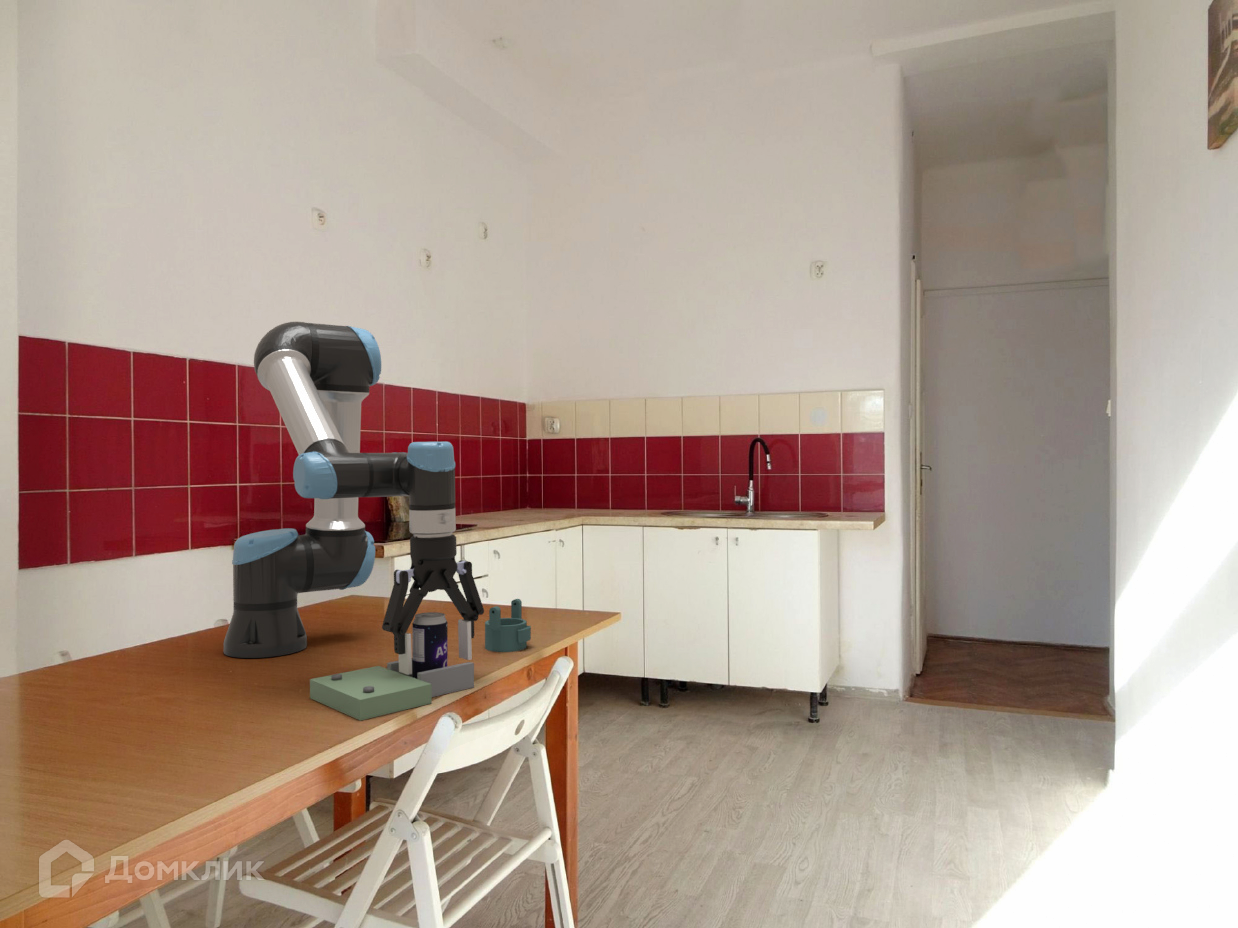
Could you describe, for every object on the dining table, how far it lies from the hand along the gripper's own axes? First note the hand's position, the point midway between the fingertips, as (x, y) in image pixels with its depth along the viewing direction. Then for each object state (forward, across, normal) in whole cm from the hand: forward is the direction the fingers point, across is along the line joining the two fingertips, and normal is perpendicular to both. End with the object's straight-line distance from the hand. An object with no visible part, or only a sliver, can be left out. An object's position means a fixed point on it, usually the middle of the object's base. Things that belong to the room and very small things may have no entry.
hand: (436, 665), depth 141 cm
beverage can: (+4, -1, 0) cm, 4 cm away
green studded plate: (+3, -7, 0) cm, 8 cm away
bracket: (+4, +26, +14) cm, 29 cm away
